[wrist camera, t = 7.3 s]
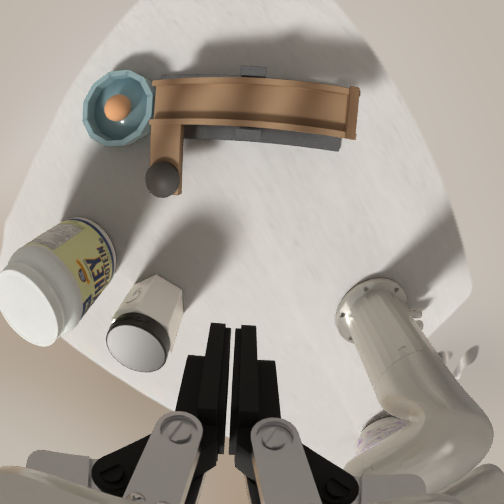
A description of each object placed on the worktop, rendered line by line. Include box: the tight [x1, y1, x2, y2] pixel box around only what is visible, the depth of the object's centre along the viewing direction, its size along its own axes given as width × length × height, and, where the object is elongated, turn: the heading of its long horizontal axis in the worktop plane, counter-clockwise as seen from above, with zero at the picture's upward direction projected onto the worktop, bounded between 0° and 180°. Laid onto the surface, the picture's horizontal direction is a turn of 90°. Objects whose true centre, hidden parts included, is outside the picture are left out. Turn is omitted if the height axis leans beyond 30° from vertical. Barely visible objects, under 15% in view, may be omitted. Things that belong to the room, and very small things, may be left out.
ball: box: [104, 94, 131, 121], centre depth 30 cm, size 4×4×4 cm
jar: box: [106, 274, 183, 372], centre depth 38 cm, size 9×8×12 cm
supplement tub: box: [0, 217, 116, 346], centre depth 33 cm, size 12×12×17 cm
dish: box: [83, 70, 156, 146], centre depth 31 cm, size 10×10×3 cm
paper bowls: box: [354, 417, 409, 455], centre depth 57 cm, size 15×15×8 cm
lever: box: [146, 77, 360, 198], centre depth 28 cm, size 22×13×3 cm, turn 86°
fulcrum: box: [161, 66, 340, 152], centre depth 30 cm, size 23×8×8 cm, turn 85°
